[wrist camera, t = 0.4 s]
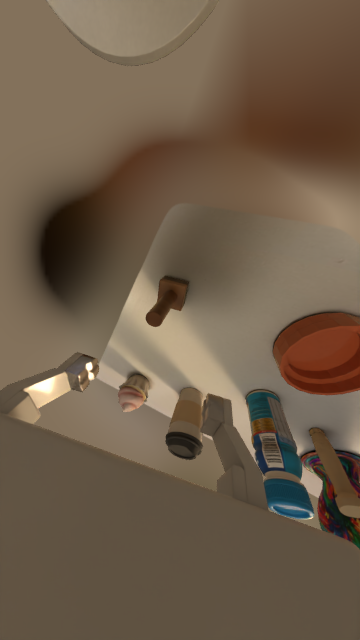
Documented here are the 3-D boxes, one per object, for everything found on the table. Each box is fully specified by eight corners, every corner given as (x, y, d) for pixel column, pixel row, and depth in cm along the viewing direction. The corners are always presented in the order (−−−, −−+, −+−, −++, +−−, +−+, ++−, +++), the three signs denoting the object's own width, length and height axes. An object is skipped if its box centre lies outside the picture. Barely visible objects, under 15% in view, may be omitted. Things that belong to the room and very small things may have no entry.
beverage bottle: (285, 394, 39) (335, 516, 22) (270, 411, 44) (304, 525, 27) (251, 385, 40) (275, 496, 23) (240, 403, 45) (254, 508, 28)
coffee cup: (188, 406, 51) (178, 464, 38) (171, 389, 48) (155, 445, 36) (211, 401, 47) (209, 463, 34) (195, 382, 44) (186, 442, 32)
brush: (165, 275, 31) (137, 298, 20) (189, 281, 30) (173, 308, 20) (162, 298, 33) (136, 329, 23) (184, 304, 33) (168, 338, 22)
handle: (325, 423, 42) (372, 508, 29) (326, 436, 44) (370, 520, 31) (304, 424, 43) (339, 503, 31) (306, 436, 46) (339, 515, 33)
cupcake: (131, 365, 47) (111, 395, 38) (158, 380, 48) (144, 412, 39) (123, 381, 52) (104, 410, 43) (147, 394, 53) (133, 425, 44)
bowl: (300, 301, 28) (314, 313, 24) (396, 325, 26) (430, 343, 22) (259, 362, 36) (264, 380, 32) (330, 383, 35) (346, 404, 31)
